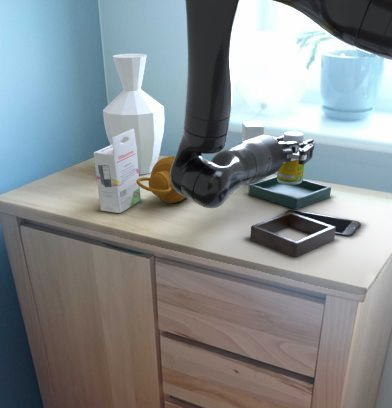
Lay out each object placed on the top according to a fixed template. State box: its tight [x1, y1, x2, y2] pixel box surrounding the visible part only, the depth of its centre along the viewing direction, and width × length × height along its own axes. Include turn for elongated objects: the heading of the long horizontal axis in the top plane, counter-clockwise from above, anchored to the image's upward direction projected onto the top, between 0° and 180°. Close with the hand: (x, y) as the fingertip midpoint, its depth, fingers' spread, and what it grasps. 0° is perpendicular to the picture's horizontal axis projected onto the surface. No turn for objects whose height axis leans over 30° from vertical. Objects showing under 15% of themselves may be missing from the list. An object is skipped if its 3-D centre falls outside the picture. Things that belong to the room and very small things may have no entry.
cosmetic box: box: [241, 120, 265, 183], centre depth 127 cm, size 6×4×12 cm
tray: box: [248, 175, 332, 210], centre depth 119 cm, size 13×11×2 cm
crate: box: [249, 212, 336, 258], centre depth 99 cm, size 11×11×2 cm
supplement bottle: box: [276, 131, 305, 185], centre depth 115 cm, size 5×5×10 cm
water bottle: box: [137, 155, 187, 204], centre depth 116 cm, size 9×9×25 cm
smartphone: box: [283, 209, 362, 237], centre depth 106 cm, size 7×15×1 cm, turn 60°
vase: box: [102, 53, 165, 175], centre depth 130 cm, size 14×14×25 cm
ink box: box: [92, 129, 142, 214], centre depth 112 cm, size 9×5×15 cm, turn 154°
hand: (298, 142), depth 116 cm, fingers closed on supplement bottle, 5 cm apart
